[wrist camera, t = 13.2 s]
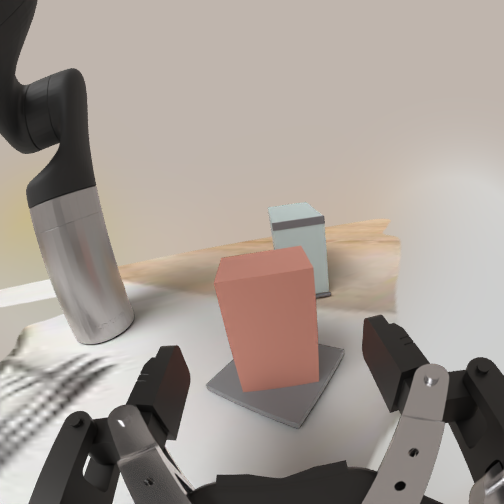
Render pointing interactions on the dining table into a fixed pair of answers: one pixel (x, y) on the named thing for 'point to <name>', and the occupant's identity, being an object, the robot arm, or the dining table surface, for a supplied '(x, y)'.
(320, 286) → the pale green block
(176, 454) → the dining table surface
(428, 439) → the robot arm
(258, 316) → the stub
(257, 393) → the coaster
